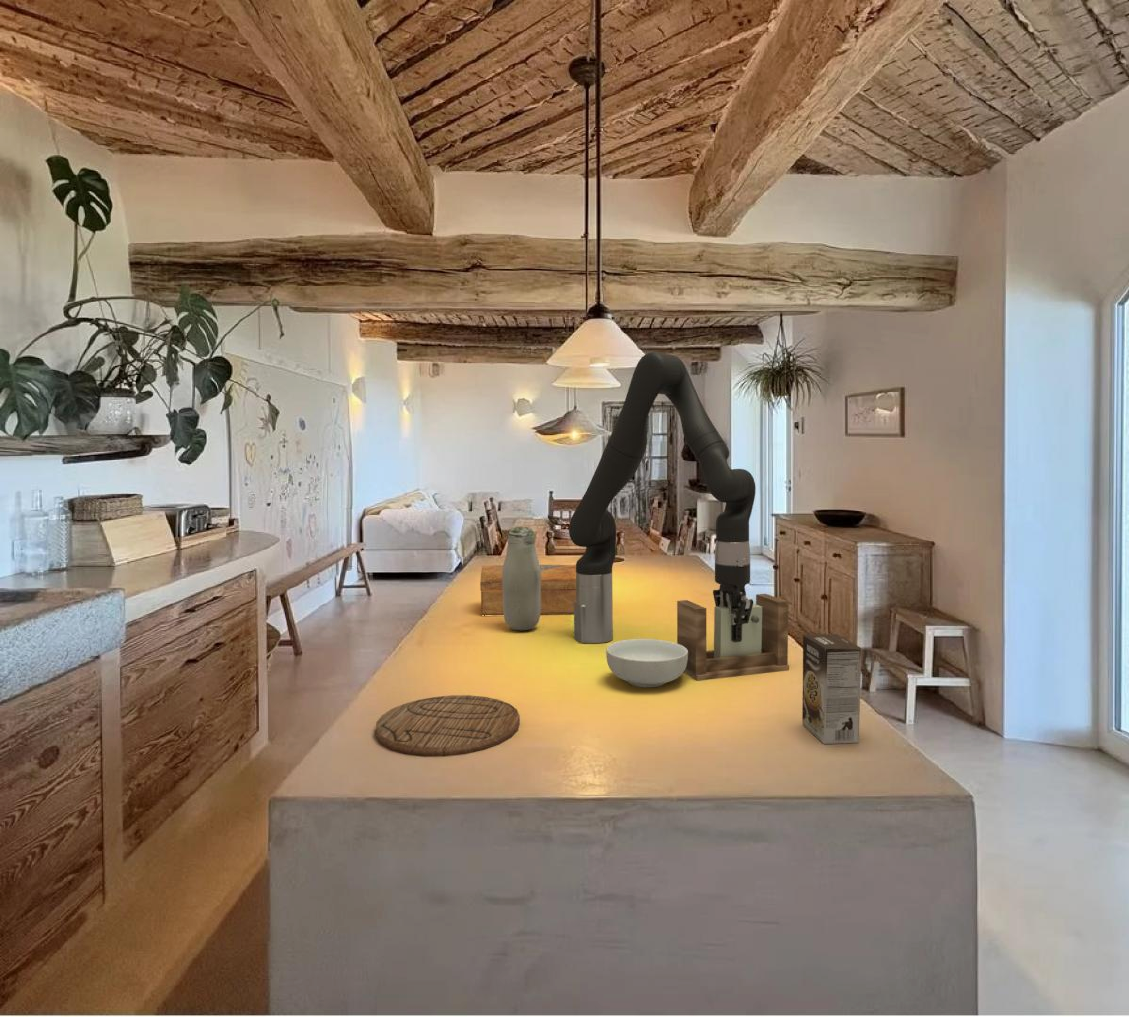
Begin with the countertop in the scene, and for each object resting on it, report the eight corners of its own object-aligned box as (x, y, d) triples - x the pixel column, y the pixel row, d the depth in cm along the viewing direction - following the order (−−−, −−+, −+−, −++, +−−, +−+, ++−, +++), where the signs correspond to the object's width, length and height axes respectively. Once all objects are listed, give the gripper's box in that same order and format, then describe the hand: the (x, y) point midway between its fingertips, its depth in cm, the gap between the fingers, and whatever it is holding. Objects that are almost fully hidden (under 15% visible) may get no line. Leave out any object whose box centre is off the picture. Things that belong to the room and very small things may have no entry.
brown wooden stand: (697, 680, 155) (697, 609, 154) (676, 667, 165) (676, 600, 163) (788, 670, 161) (789, 601, 160) (763, 657, 171) (764, 593, 170)
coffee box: (800, 724, 130) (801, 633, 129) (835, 722, 131) (837, 632, 129) (822, 745, 121) (824, 648, 120) (860, 743, 122) (862, 646, 120)
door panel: (722, 665, 159) (723, 610, 159) (713, 660, 163) (714, 606, 162) (763, 661, 162) (764, 607, 161) (753, 657, 166) (754, 604, 165)
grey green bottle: (497, 632, 198) (495, 528, 196) (514, 623, 207) (512, 524, 205) (531, 635, 194) (529, 529, 192) (547, 626, 204) (545, 525, 201)
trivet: (500, 762, 117) (500, 751, 117) (350, 754, 121) (350, 743, 121) (532, 707, 142) (532, 697, 141) (407, 702, 146) (407, 692, 146)
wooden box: (479, 617, 216) (478, 570, 215) (486, 605, 233) (485, 561, 232) (582, 616, 216) (582, 569, 215) (581, 604, 232) (581, 560, 231)
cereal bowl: (634, 700, 144) (634, 664, 143) (591, 677, 159) (591, 644, 158) (704, 686, 152) (704, 652, 151) (657, 665, 166) (657, 634, 166)
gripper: (701, 557, 167) (701, 633, 168) (733, 567, 153) (733, 649, 155) (731, 556, 169) (731, 630, 170) (765, 564, 156) (765, 646, 157)
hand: (732, 639), depth 163 cm, fingers closed on door panel, 3 cm apart
